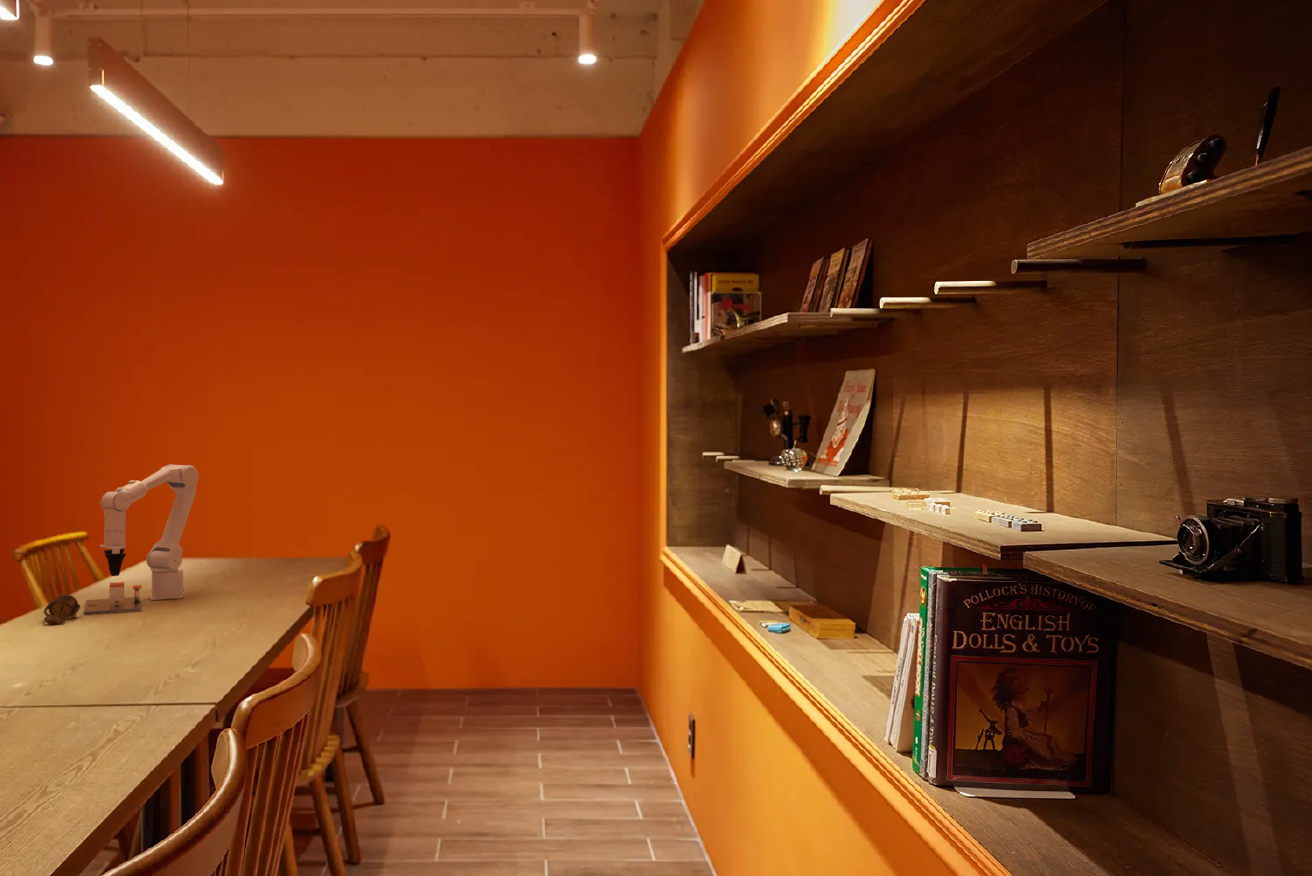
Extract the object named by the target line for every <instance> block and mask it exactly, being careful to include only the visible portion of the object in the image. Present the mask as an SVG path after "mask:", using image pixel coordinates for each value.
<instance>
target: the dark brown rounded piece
mask: <svg viewBox="0 0 1312 876" xmlns="http://www.w3.org/2000/svg"><path fill="white" fill-rule="evenodd" d="M80 609H81V605H80V604H79V601H78V599H77V598H76V597H75V596H73V595H72V594H67V593H63V594H62V593H61V594H60V595H57V596H56V597H55V599H53V600H51V601H49V603H48V604H47V605H46V607H45V608H44V610H43V613H44V615H45V616H44V619H43V620H44V622H45V623H46V624H48V625H51V626H52V625H54V626H55V625H62V624H64V623H65V622H66V620H70V619H73V618H74V617H76V616H77V613H78V612H79V611H80Z"/></svg>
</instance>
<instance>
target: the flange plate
mask: <svg viewBox="0 0 1312 876" xmlns="http://www.w3.org/2000/svg"><path fill="white" fill-rule="evenodd" d="M140 589H142V585H141V584H138V585H132V590H134V593H133V594H134V596H132V597H129V596H128V597H124V600H119V603H115V601H109V600H110V598H101V599H100V598H99V599H86V600H85V606H84V611H83V614H84V615H83V616H92V615H105V614H119V613H123V614H124V613H135V612H137V613H138V612H142V603H143V601H141V596H140Z"/></svg>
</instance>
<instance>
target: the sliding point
mask: <svg viewBox="0 0 1312 876" xmlns="http://www.w3.org/2000/svg"><path fill="white" fill-rule="evenodd" d="M124 598H125V581H122V582H121V581H120V582H118V581H116V582H109V599H110V600H109V601H115V603H119V600H124Z"/></svg>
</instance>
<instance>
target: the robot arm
mask: <svg viewBox="0 0 1312 876" xmlns="http://www.w3.org/2000/svg"><path fill="white" fill-rule="evenodd" d="M196 468H197V467H195V466H193V465H191V464H188V465H185V464H184V465H183V464H173V463H172V464H169V463H168V464H167V465H165V466H162V467H161V468H160V469H159V470H157V471H156V472H154V473H153V474H150V475H149V476H148V477H146V478H145V479H142V480H141V481H140V480H134V479H133V480H132V479H130V480H129V481H128V484H126V485H124V486H122V487H121V486H120V487H117V488H116V490H114V491H107V492H106V493H104V494H103V496H102V498H101V500H99V504H100V506H101V509H102V510H103V515H104V527H103V528H104V529H103V530H104V534H103V535H104V537H103V541H104V542H103V543H104V544H99V547H100V548H104V549H103V552H104V556H105V558H106V559H107V566H108V570H109V574H110V576H111V577H119V576H120V574H121V568H122V564H123V561H124V559H125V557H126V555H127V554H126V553H125V548H126V547H127V543H126V528H127V527H126V523H127V522H126V518H127V517H126V515H127V512H126V511H127V510H128V509H129V507H130V506H131V504H133V503H135V502H136V501H138V500H139V499H142V498H143V497H145V496H147V494H148V493H147V492H148V491H149V490H151V489H153V488H156V487H158V486H160V485H162V484H164V483H166V484H167V485H168V486H169V487H170V488H171V489H172V491H174V493H175V498H174V501H173V504H172V507H171V509H170V512H169V516H168V519H167V521H166V524H165V527H164V530H163V532H162V536H161V539H159V541H156V543H154V544H153V546H152V548H151V550H150V551H149V553H147V555H146V558H145V560H146V564H147V566H148V568H149V569H150V571H151V594H150V595H149V597H150V598H149V599H150V601H157V600H171V599H183V598H184V592H185V587H184V570H183V569H179V568H180V567H181V565H182V563H183V552H184V549H183V548H182V546H181V545H180V541H181V538H182V536H183V533H184V529H185V527H186V523H187V521H188V517H189V515H190V512H191V509H192V506H193V503H194V501H195V500H194V499H195V497H196V493H197V484H198V481H199V478H200V475H199V472H198V470H197V469H196Z"/></svg>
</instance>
